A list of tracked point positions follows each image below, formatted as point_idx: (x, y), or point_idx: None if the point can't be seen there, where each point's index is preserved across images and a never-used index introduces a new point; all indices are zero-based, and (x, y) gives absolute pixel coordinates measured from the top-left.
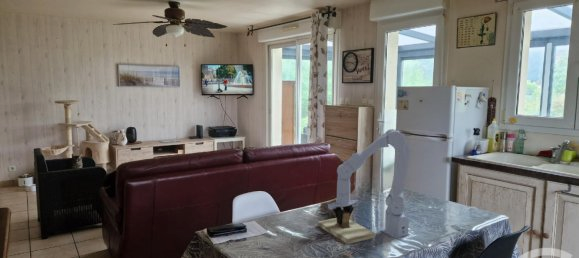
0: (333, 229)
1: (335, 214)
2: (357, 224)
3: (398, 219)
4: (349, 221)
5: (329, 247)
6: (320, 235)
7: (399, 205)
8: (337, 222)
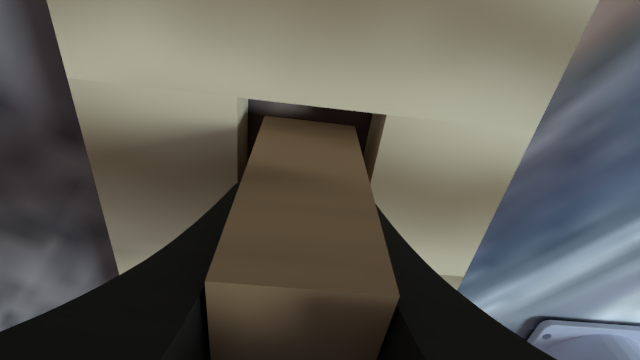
0: (126, 224)
1: (152, 259)
2: (461, 253)
3: None
4: (484, 146)
5: (14, 322)
6: (2, 139)
7: None
8: (230, 190)
